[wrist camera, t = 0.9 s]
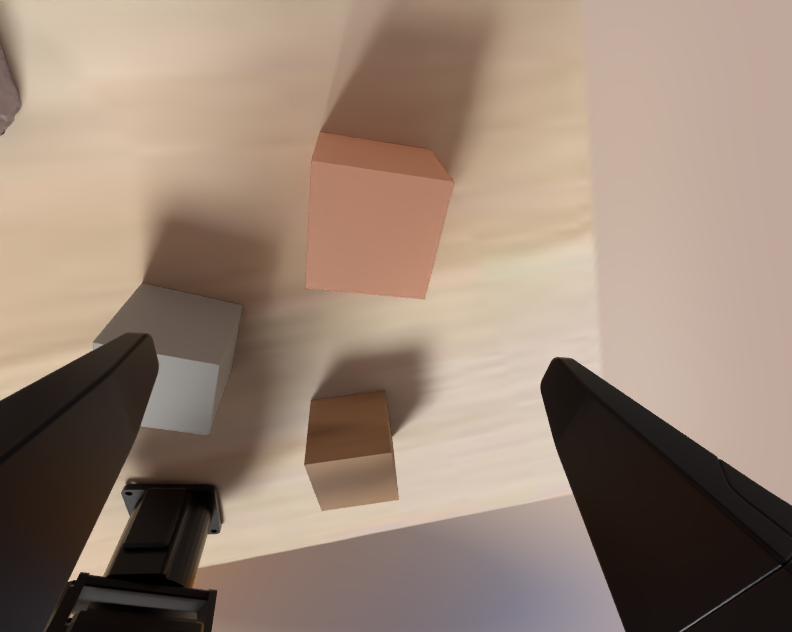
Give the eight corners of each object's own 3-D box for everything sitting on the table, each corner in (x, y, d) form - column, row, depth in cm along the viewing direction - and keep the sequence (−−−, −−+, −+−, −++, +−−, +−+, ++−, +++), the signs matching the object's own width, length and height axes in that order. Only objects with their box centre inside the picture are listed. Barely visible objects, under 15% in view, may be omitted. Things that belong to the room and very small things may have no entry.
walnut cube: (391, 436, 30) (398, 499, 26) (325, 445, 30) (321, 510, 26) (384, 389, 27) (391, 452, 23) (311, 399, 27) (304, 465, 23)
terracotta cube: (409, 248, 21) (424, 299, 17) (313, 237, 20) (305, 288, 16) (430, 149, 18) (454, 181, 14) (320, 131, 17) (311, 160, 13)
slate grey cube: (232, 369, 25) (208, 435, 21) (142, 353, 23) (98, 420, 19) (243, 304, 22) (219, 365, 18) (142, 282, 21) (92, 342, 17)
